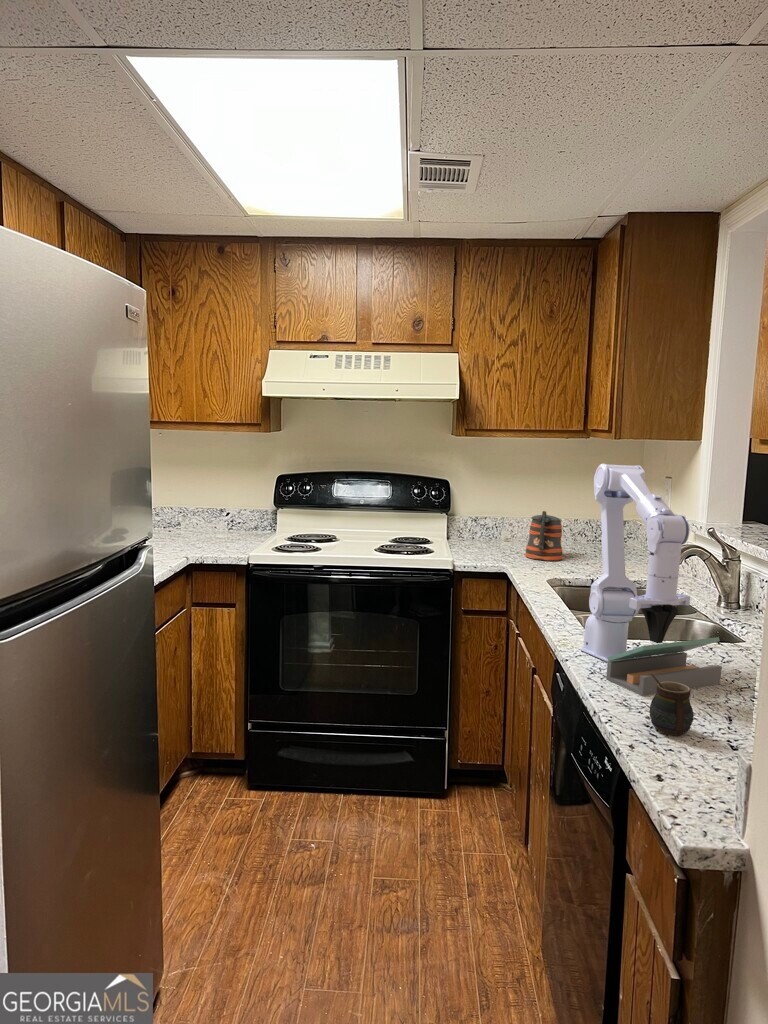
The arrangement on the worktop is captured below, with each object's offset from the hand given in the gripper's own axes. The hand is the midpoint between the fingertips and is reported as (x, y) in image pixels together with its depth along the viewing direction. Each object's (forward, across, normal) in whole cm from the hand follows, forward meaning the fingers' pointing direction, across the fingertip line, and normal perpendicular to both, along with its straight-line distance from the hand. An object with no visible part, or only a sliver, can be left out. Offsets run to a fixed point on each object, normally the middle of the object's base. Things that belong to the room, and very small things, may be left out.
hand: (656, 641), depth 148 cm
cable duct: (+10, +6, +2) cm, 12 cm away
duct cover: (+3, +6, +3) cm, 8 cm away
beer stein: (+10, +72, +126) cm, 145 cm away
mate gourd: (+10, -13, -16) cm, 23 cm away
